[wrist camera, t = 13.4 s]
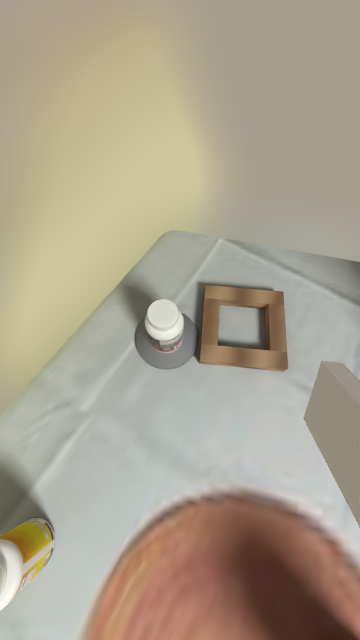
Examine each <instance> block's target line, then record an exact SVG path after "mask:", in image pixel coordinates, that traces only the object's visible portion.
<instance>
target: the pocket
mask: <svg viewBox="0 0 360 640" xmlns="http://www.w3.org/2000/svg"><path fill="white" fill-rule="evenodd" d="M219 305H226V306H237V307H248V308H259V309H265V326H266V350H259V349H248V348H238V347H228V346H218V326H219ZM199 363H203V364H213V365H223V366H233V367H243V368H253V369H263V370H273V371H285V370H287V369H288V359H287V343H286V327H285V312H284V296H283V292H280V291H269V290H258V289H246V288H235V287H224V286H212V285H205V291H204V304H203V318H202V331H201V345H200V359H199Z"/></svg>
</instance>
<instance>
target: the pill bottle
mask: <svg viewBox="0 0 360 640" xmlns="http://www.w3.org/2000/svg"><path fill="white" fill-rule="evenodd" d="M145 328H146V331H147V334H148V337H149V340H150V342H151V345H152V346H153V347H154V348H155V349H156V350H157V351H159V352H162V353H171V352H173V351H175V350H177V349H178V348H179V347H180V345H181V344H182V341H183V331H184V319H183V315H182V313H181V312H180V310H179V309H178V308H177V306H176V305H175V304H174V303H173V302H172V301H170V300H167V299H159V300H156V301H154V302H153V303H152V304H151V305H150V306H149V308H148V311H147V314H146V317H145Z"/></svg>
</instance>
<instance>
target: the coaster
mask: <svg viewBox="0 0 360 640" xmlns="http://www.w3.org/2000/svg"><path fill="white" fill-rule="evenodd" d="M182 315H183V319H184V331H183V341H182V344H181V345H180V347H179V348H178V349H177V350H175V351H173V352H171V353H162V352H159V351H157V350H156V349H155V348H154V347H153V346H152V345H151V342H150V340H149V337H148V334H147V331H146V328H145V319H144V320H143V321H142V322H141V324H140V325H139V327H138V330H137V333H136V347H137V350H138V352H139V354H140V355H141V357H142V358H143V359H144V360H145V361H146V362H147V363H148V364H150V365H151V366H154V367H156V368H160V369H173V368H177V367H179V366H181V365H183V364H185V363H186V362H187V361H188V360H189V359H190V358H191V357H192V356H193V354H194V352H195V350H196V347H197V343H198V334H197V330H196V327H195V325H194V323H193V322H192V321H191V319H189V318H188V317H187V316H186V315H185V314H183V313H182Z"/></svg>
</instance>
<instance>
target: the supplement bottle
mask: <svg viewBox="0 0 360 640" xmlns="http://www.w3.org/2000/svg"><path fill="white" fill-rule="evenodd" d="M54 544H55V536H54V532H53V529H52V527H51V525H50V524H49V523H48V522H47V521H45V520H43V519H40V518H33V519H29V520H27V521H25V522H23V523H21V524H20V525H18V526H16V527H15V528H13V529H11V530H9V531H8V532H6V533H4V534H3V535H1V536H0V610H1V609H3V608H4V607H5V606H6V605H7V604H8V603H9V602H10V601H11V600H12V599H13V598H14V597H15V596H16V595H17V594H18V593H19V592H20V591H21V590H22V589H23V588H24V587H25V586H26V585H27V584H28V583H29V582H30V581H31V580H32V579H33V578H34V577H35V576H36V575H37V574H38V573H39V572H40V571H41V570H42V569H43V568H44V567H45V565H46V564H47V563H48V561H49V560H50V558H51V556H52V553H53V550H54Z"/></svg>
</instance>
